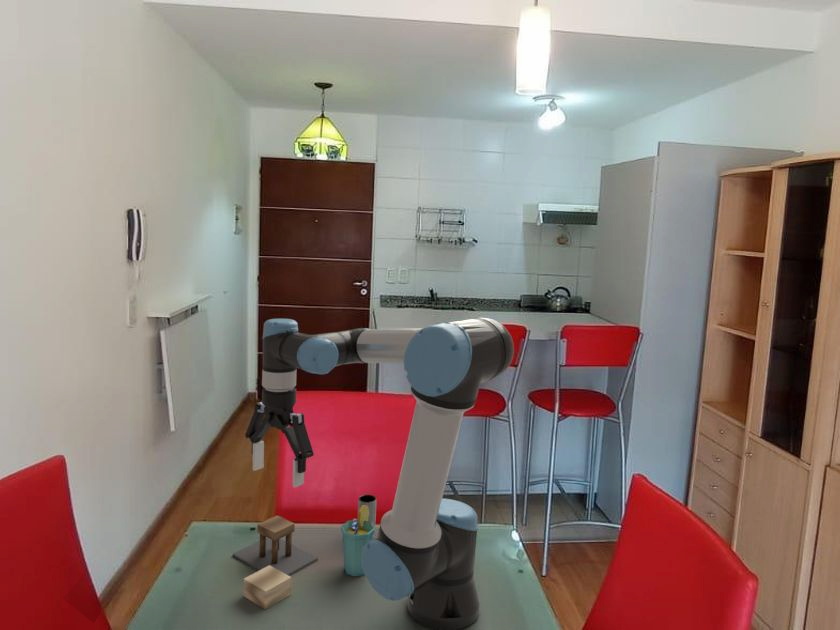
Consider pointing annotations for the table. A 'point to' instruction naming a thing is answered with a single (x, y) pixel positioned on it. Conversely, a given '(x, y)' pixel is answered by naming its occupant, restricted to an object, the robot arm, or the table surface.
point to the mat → (284, 564)
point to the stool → (275, 536)
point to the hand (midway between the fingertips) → (277, 477)
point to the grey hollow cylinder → (371, 503)
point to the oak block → (267, 587)
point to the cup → (356, 541)
